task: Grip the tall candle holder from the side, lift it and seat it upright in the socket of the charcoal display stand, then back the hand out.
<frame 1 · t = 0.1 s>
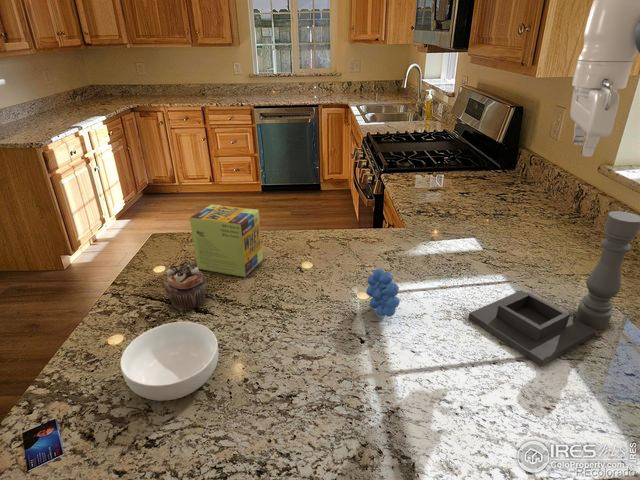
hand: (581, 150, 86), 36 cm above the countertop, tool pointing down, fingers open, 8 cm apart
candle holder: (591, 321, 94), on the countertop
cereal bowl: (176, 380, 79), on the countertop
cupcake: (188, 301, 103), on the countertop
display stand: (529, 326, 92), on the countertop
grapes: (384, 315, 97), on the countertop
protein box: (230, 265, 119), on the countertop
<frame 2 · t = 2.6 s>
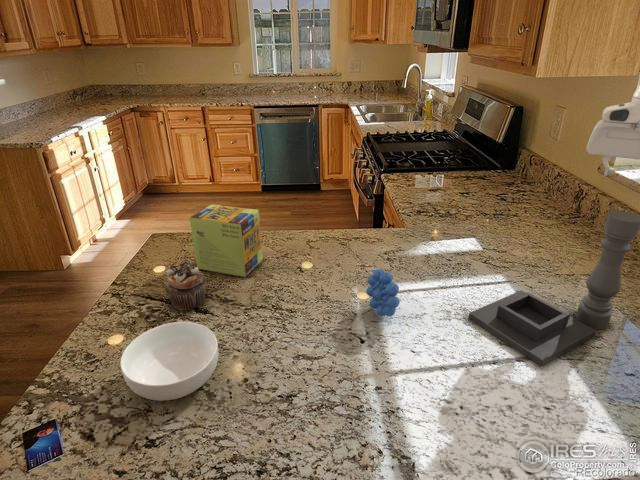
hand: (633, 179, 91), 29 cm above the countertop, tool pointing down, fingers open, 8 cm apart
nothing on the countertop moved.
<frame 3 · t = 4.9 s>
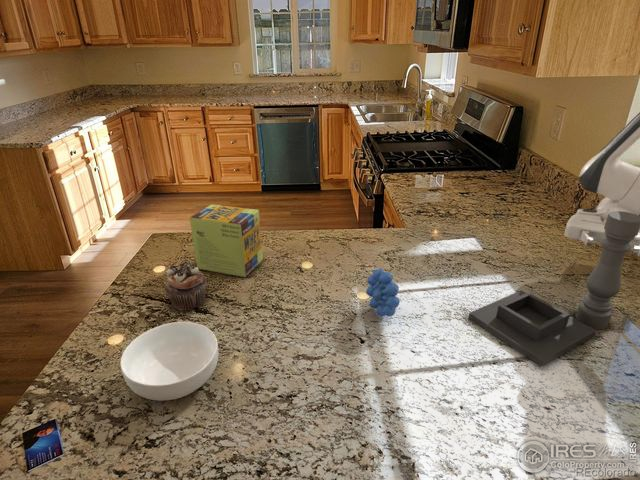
hand: (612, 247, 97), 13 cm above the countertop, tool horizontal, fingers open, 8 cm apart
nothing on the countertop moved.
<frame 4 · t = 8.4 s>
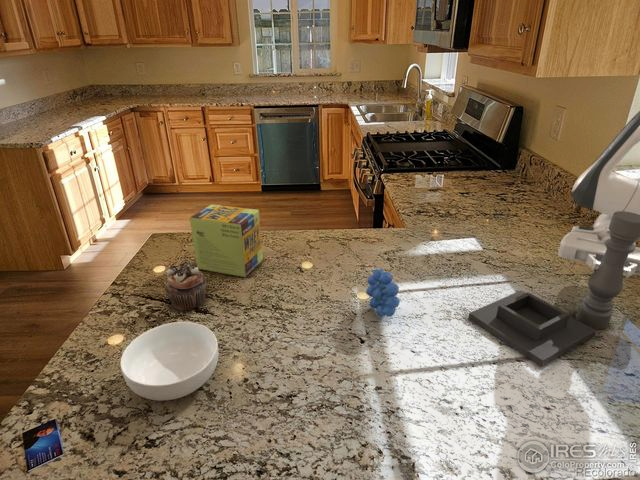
hand: (610, 271, 88), 13 cm above the countertop, tool horizontal, fingers closed on candle holder, 4 cm apart
candle holder: (591, 321, 94), on the countertop, touching gripper
everything else where it was.
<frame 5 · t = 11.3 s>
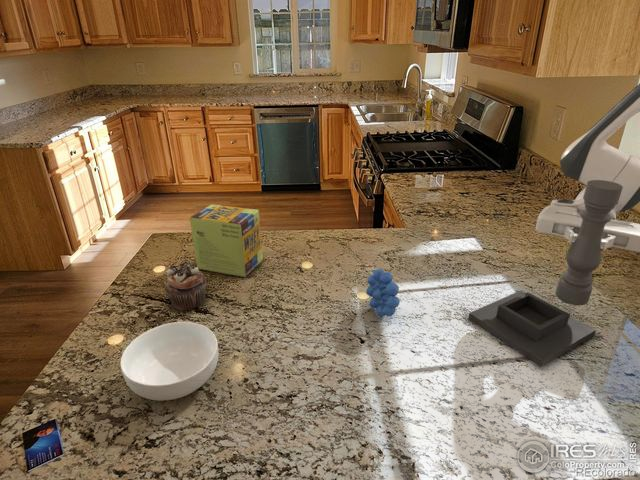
hand: (587, 243, 84), 20 cm above the countertop, tool horizontal, fingers closed on candle holder, 4 cm apart
candle holder: (571, 297, 90), point 7 cm above the countertop, touching gripper
everything else where it was.
when the fingers open (14 cm above the countertop, at t = 14.6 s): candle holder stays where it is, resting on display stand.
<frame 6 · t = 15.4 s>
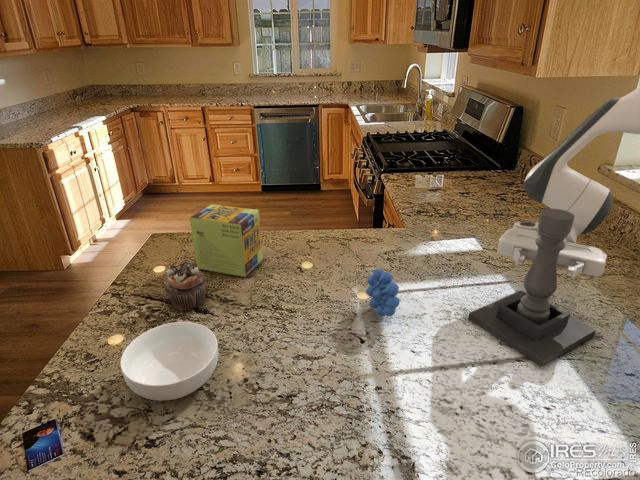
hand: (544, 268, 85), 15 cm above the countertop, tool horizontal, fingers open, 8 cm apart
candle holder: (530, 322, 92), point 1 cm above the countertop, touching display stand
everything else where it was.
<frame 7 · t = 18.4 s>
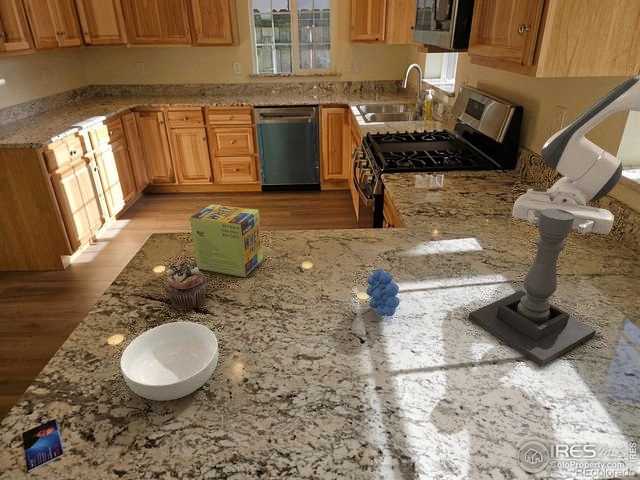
hand: (556, 226, 93), 20 cm above the countertop, tool horizontal, fingers open, 8 cm apart
nothing on the countertop moved.
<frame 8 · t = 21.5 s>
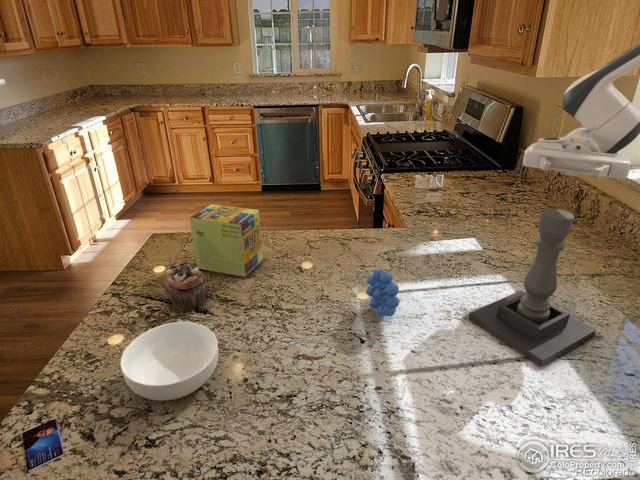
hand: (571, 170, 88), 32 cm above the countertop, tool horizontal, fingers open, 8 cm apart
nothing on the countertop moved.
at the end: candle holder 0.1 cm off-centre on the display stand, point 1.3 cm above the display stand's base; candle holder tilted 0°; the gripper is holding nothing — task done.
